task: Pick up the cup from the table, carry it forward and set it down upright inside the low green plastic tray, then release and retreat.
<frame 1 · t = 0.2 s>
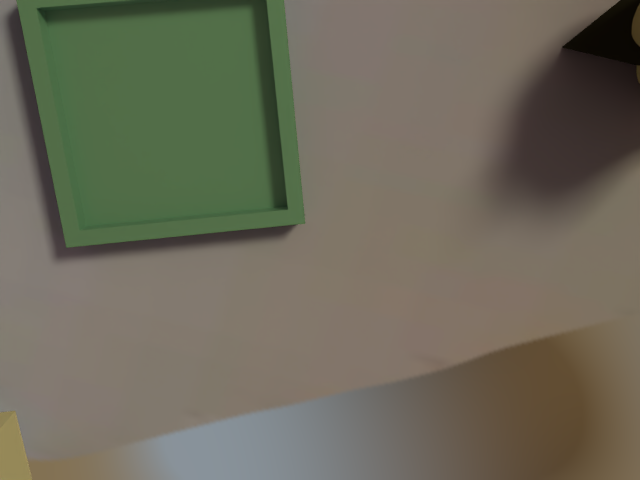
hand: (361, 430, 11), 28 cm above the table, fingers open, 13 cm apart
tray: (174, 113, 36), on the table
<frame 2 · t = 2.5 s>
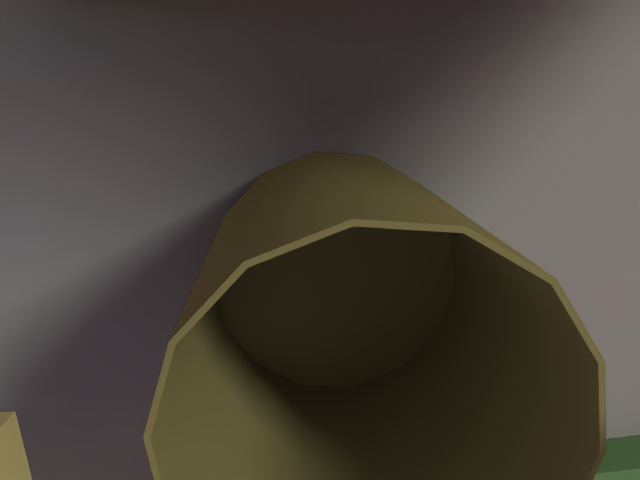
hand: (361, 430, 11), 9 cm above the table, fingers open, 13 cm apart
cup: (333, 270, 20), on the table
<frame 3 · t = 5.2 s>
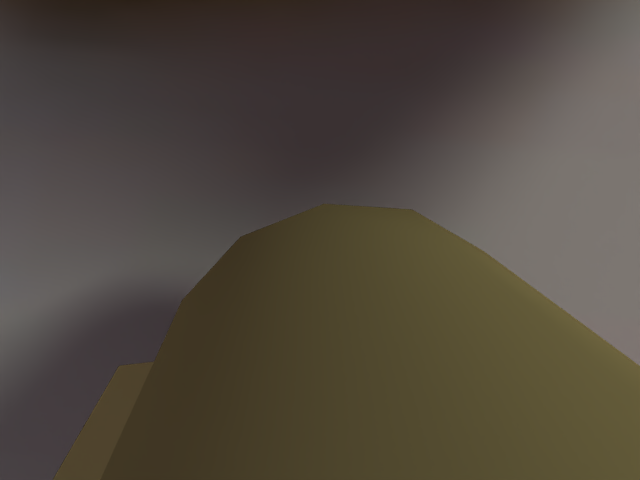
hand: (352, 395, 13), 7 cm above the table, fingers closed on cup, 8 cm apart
cup: (349, 380, 13), point 6 cm above the table, touching gripper
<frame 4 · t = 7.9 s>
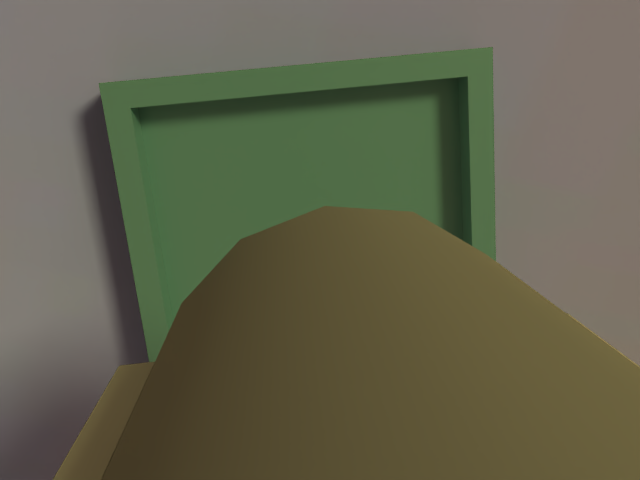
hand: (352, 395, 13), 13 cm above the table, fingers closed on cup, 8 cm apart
cup: (349, 383, 13), point 13 cm above the table, touching gripper
tray: (314, 243, 25), on the table
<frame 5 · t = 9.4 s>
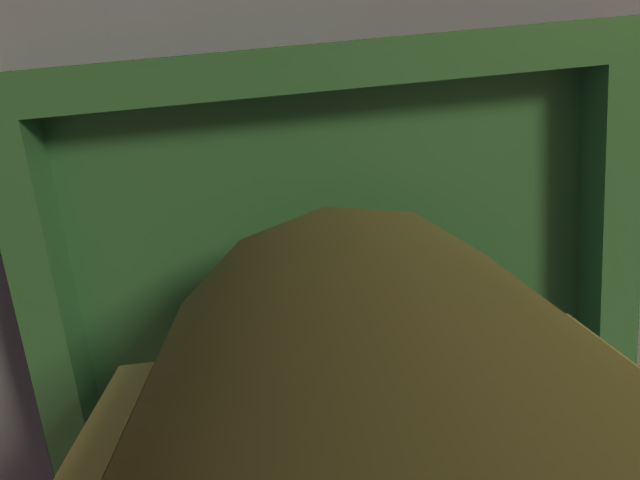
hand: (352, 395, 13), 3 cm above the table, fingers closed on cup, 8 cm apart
cup: (349, 383, 13), point 3 cm above the table, touching gripper
tray: (337, 333, 16), on the table
when the fingers open (2 cm above the table, at t = 10.6 s): cup drops 1 cm, resting on tray.
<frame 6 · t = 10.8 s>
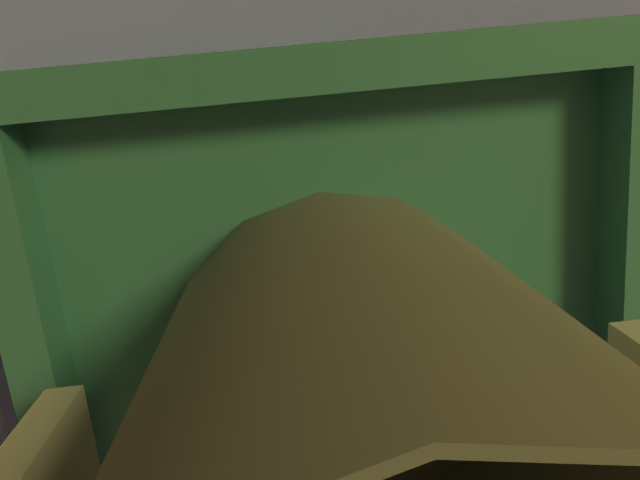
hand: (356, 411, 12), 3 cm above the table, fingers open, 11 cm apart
cup: (340, 353, 15), resting on tray
tray: (341, 351, 15), on the table
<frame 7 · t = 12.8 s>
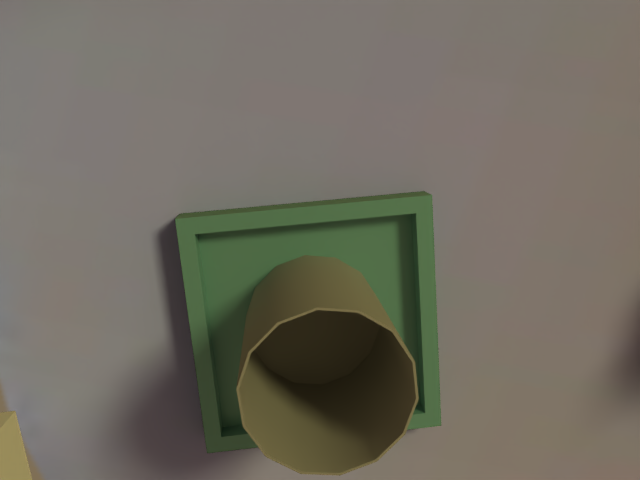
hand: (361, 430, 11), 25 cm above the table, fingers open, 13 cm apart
cup: (313, 318, 36), resting on tray
tray: (313, 318, 37), on the table
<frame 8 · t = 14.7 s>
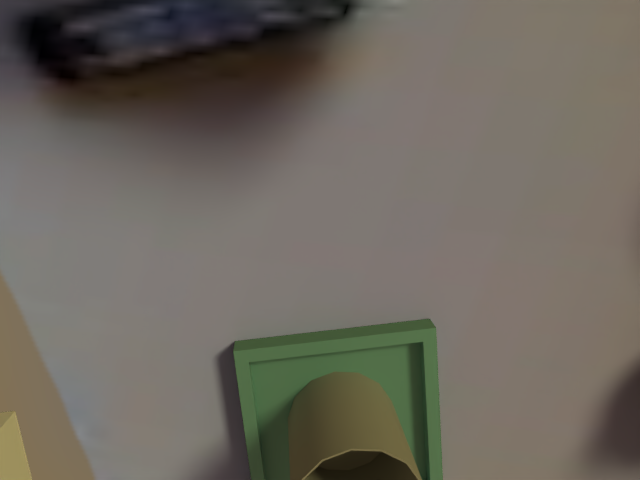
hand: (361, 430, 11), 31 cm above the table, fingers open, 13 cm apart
cup: (341, 418, 45), resting on tray
tray: (341, 417, 46), on the table
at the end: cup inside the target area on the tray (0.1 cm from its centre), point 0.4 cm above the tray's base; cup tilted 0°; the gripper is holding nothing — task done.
